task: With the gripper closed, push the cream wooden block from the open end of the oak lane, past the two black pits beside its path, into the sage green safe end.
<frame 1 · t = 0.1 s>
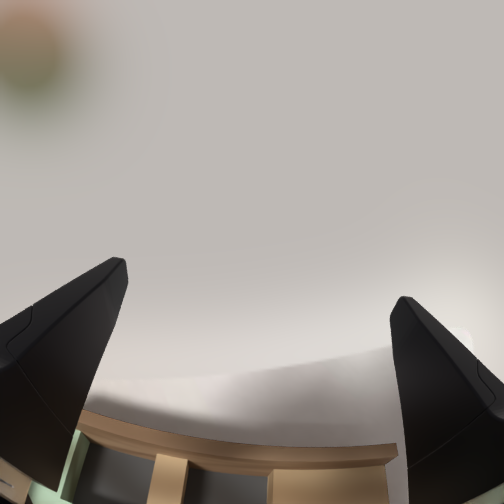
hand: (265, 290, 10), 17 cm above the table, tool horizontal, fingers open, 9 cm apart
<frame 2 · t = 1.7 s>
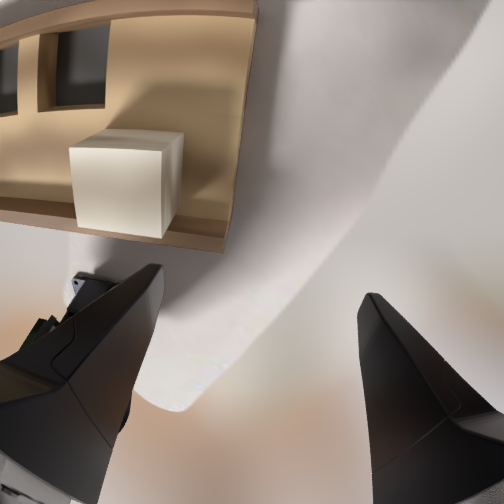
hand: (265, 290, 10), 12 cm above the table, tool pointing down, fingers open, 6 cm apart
block: (142, 166, 17), point 2 cm above the table, touching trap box
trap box: (74, 111, 18), on the table
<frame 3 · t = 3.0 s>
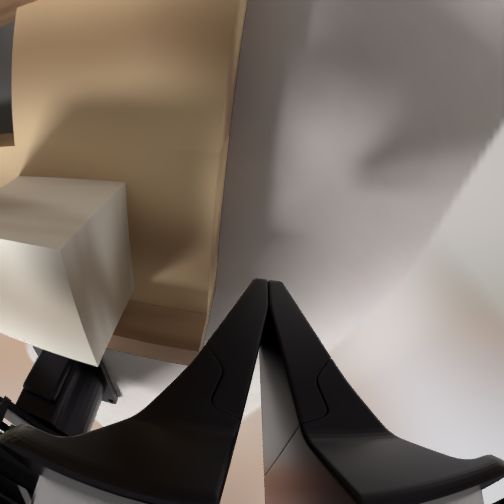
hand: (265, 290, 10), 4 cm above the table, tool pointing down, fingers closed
block: (73, 232, 11), point 2 cm above the table, touching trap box
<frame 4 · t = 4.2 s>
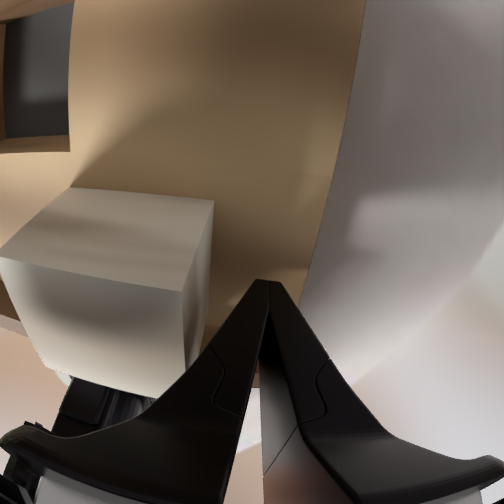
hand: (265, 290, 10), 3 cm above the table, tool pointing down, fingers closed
block: (139, 253, 10), point 3 cm above the table, touching gripper
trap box: (32, 145, 11), on the table
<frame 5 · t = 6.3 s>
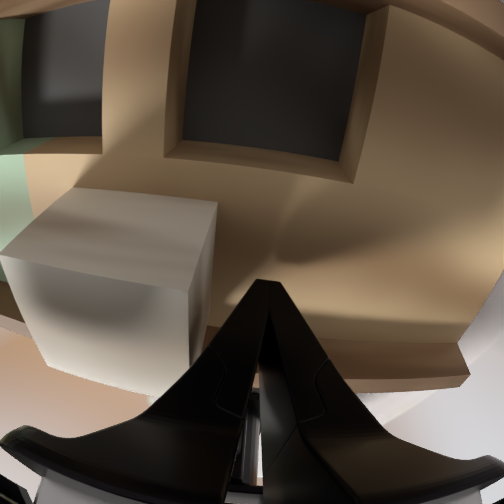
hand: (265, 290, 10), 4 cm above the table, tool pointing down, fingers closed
block: (141, 253, 10), point 3 cm above the table, touching gripper, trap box
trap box: (224, 155, 11), on the table
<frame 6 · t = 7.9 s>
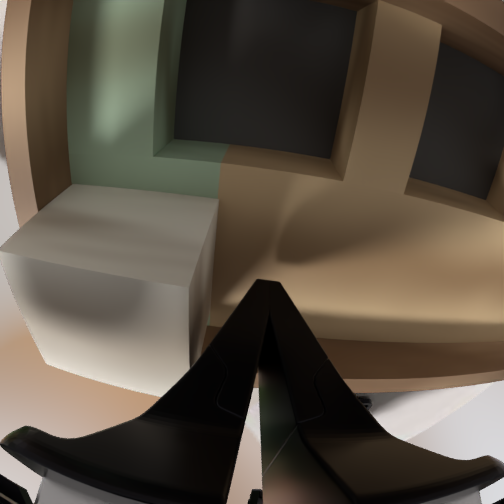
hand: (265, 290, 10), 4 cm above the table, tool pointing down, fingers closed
block: (142, 250, 10), point 3 cm above the table, touching gripper, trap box
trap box: (408, 187, 11), on the table
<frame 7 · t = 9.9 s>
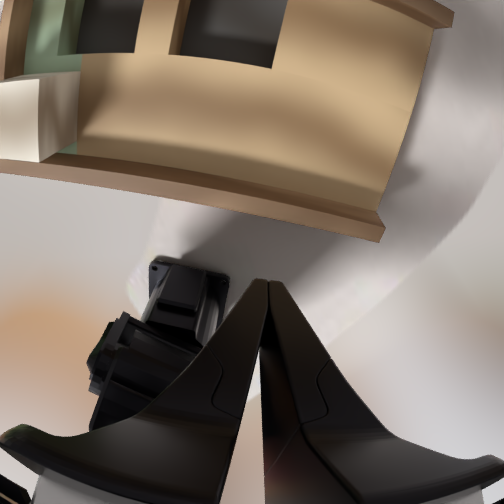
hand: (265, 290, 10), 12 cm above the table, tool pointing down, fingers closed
block: (48, 106, 15), point 2 cm above the table, touching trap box
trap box: (203, 65, 16), on the table
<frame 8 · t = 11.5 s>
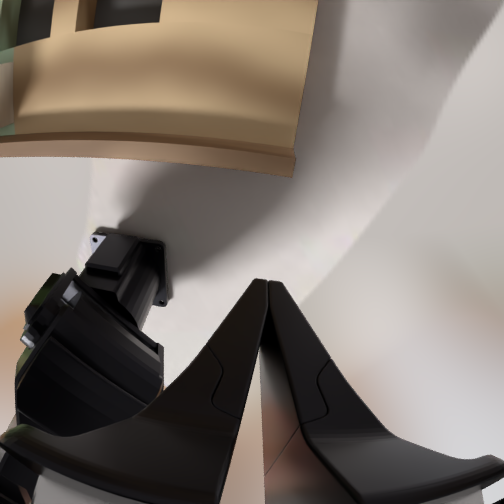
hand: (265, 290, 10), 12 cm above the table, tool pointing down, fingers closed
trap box: (113, 37, 15), on the table
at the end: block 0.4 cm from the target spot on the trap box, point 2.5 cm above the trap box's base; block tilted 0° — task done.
